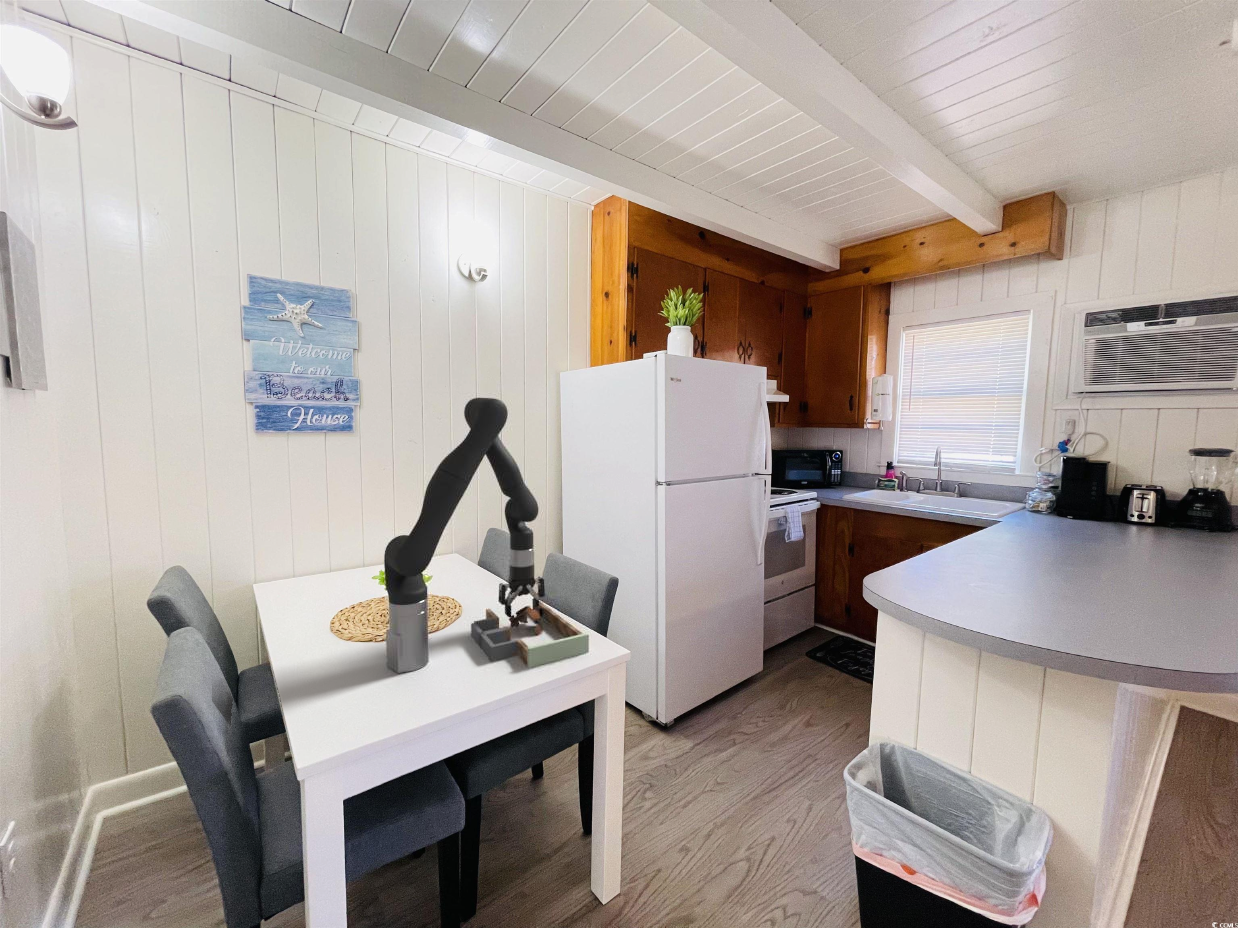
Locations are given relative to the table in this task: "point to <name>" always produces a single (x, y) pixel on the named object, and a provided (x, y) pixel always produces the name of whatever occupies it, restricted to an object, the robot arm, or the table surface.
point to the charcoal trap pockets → (493, 640)
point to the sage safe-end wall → (557, 650)
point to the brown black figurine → (532, 613)
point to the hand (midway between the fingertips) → (522, 613)
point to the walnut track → (549, 617)
